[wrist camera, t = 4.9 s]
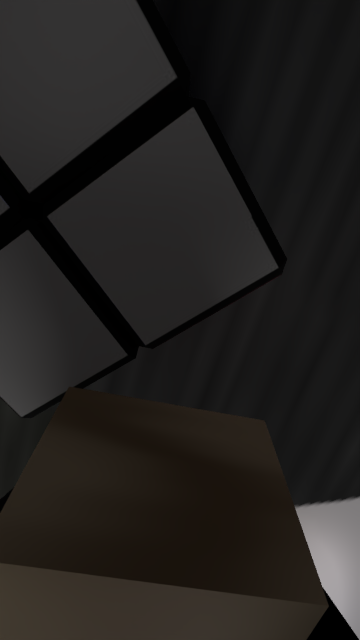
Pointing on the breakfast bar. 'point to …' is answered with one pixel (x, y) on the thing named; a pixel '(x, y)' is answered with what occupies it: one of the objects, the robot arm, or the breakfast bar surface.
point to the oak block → (154, 530)
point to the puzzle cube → (110, 198)
